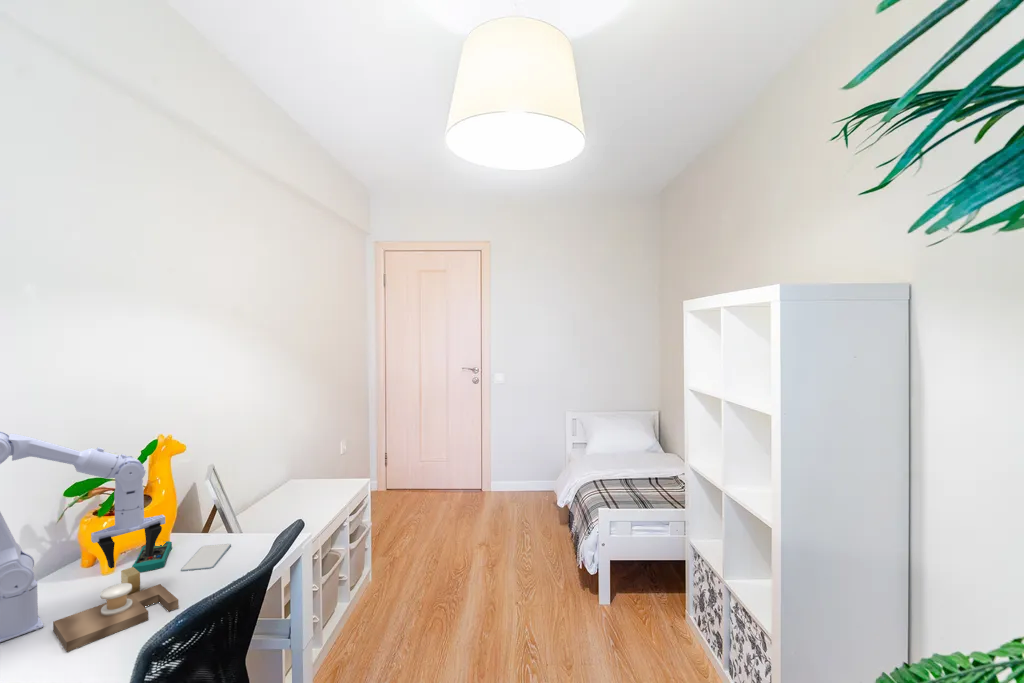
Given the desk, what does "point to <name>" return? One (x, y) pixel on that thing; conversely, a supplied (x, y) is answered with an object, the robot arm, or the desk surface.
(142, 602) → the notched board
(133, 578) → the brass tab
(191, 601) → the desk surface
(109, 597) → the bobbin
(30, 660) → the desk surface
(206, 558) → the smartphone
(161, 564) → the digital multimeter
